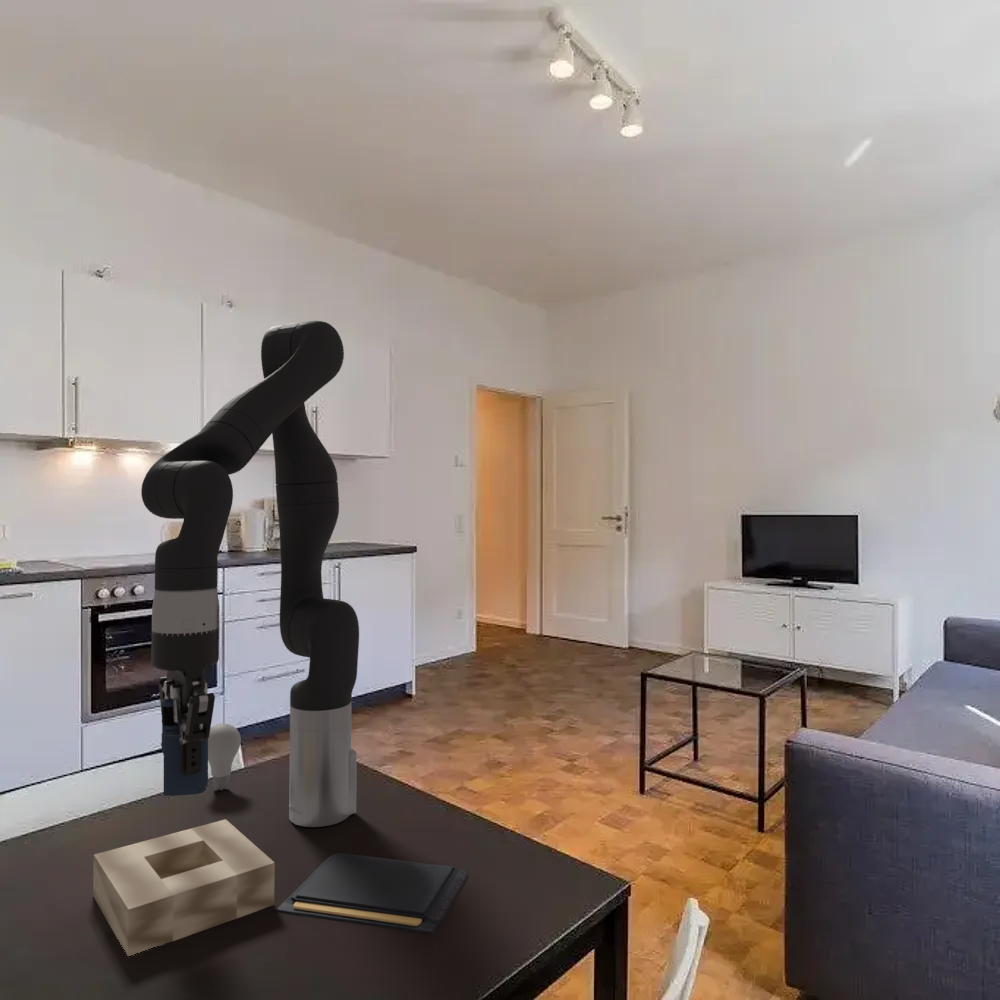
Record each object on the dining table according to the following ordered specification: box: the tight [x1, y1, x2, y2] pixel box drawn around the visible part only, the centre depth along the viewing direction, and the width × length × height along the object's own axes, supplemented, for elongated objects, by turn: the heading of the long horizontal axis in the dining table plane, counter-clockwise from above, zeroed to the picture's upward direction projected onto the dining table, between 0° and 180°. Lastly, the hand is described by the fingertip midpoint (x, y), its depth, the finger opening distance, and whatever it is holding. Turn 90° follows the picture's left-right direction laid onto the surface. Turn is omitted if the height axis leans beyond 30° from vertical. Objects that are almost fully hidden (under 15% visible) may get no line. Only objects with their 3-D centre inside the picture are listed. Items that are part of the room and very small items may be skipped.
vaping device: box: [160, 693, 209, 797], centre depth 89 cm, size 3×5×12 cm, turn 100°
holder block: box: [92, 819, 276, 957], centre depth 89 cm, size 16×16×5 cm
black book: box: [274, 852, 469, 935], centre depth 91 cm, size 20×2×15 cm
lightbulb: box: [208, 723, 242, 791], centre depth 123 cm, size 6×6×11 cm
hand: (184, 768), depth 89 cm, fingers closed on vaping device, 3 cm apart
